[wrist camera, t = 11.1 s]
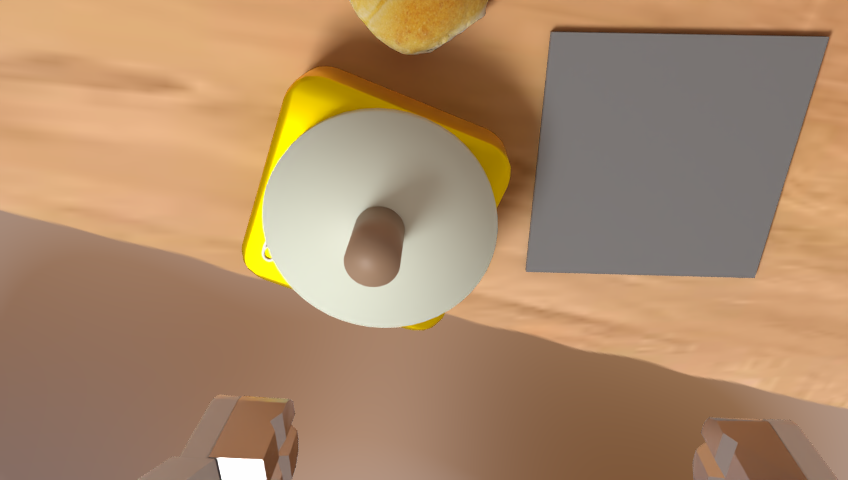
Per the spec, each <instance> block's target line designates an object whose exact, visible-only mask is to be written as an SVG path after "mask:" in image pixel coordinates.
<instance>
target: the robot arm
mask: <svg viewBox="0 0 848 480" xmlns="http://www.w3.org/2000/svg"><path fill="white" fill-rule="evenodd" d="M294 416H295V411H294V405H293V401H292V400H290V399H281V398H280V399H279V398H266V397H251V396H229V395H218V396H216V397H215V398H214V399H213V400H212V401H211V403H210V404H209V406H208V408H207V410H206V411H205V413H204V415H203V417H202V418H201V420H200V422H199V423H198V425H197V427H196V429H195V430H194V432H193V434H192V436H191V437H190V439H189V441H188V442H187V444H186V446H185V448H184V450H183V451H182V453H181V455H180V456H179V457H170V458H169V459H168V460H166V461H165V462H163V463H162V464H160V465H158V466H157V467H155V468H154V469H153V470H151V471H149V472H148V473H146V474H145V475H143V476H142V477H140V478H139V479H137V480H291V479H292V477H293V474H294V471H295V468H296V463H297V457H298V432H297V430H296V429H295V428H294V427H293V426H292V425H291V424H292V421H293V418H294ZM701 433H702V435H703V437H704V439H705V441H706V442H705V443H704V444H703V445H701V446H700V447H699V448H697V449H696V452H695V456H694V460H693V477H694V480H838V479H837V477H836V476H835V475H834V473H833V472H832V471H831V469H830V468H829V467H828V465H827V464H826V463H825V461H824V460H823V458H822V457H821V456H820V455H819V453H818V452H817V450H816V449H815V448H814V446H813V445H812V444H811V442H810V441H809V439H808V438H807V437H806V435H805V434H804V433H803V431H802V430H801V429H800V427H799V426H798V425H797V424H796V423H794V422H793V421H791V420H773V419H763V420H760V419H736V418H708V419H707V420H706V421H705V423H704V425H703V428H702V431H701Z"/></svg>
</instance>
